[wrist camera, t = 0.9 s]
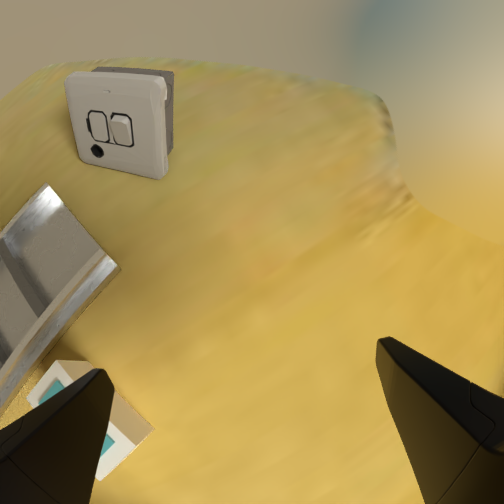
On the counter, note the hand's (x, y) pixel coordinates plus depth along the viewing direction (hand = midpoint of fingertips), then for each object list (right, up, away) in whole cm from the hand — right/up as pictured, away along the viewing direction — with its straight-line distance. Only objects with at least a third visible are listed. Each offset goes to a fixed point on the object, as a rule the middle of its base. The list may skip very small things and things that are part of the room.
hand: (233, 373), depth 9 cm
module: (-10, -8, +10) cm, 16 cm away
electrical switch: (-11, +13, +17) cm, 24 cm away
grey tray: (-20, -1, +11) cm, 23 cm away
